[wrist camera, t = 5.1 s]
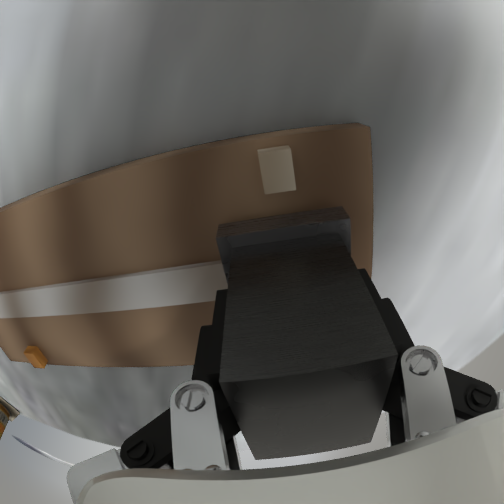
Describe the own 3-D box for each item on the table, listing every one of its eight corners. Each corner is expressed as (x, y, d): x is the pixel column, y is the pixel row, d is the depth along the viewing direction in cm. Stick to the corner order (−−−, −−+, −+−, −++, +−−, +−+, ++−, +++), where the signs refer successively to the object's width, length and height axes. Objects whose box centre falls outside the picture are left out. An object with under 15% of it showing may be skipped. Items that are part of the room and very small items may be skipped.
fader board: (358, 122, 12) (377, 130, 10) (359, 325, 18) (369, 351, 16) (-49, 231, 14) (-67, 246, 12) (18, 349, 20) (7, 367, 18)
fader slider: (341, 205, 12) (422, 334, 6) (343, 317, 15) (381, 444, 9) (218, 224, 12) (190, 370, 6) (245, 331, 15) (243, 464, 9)
